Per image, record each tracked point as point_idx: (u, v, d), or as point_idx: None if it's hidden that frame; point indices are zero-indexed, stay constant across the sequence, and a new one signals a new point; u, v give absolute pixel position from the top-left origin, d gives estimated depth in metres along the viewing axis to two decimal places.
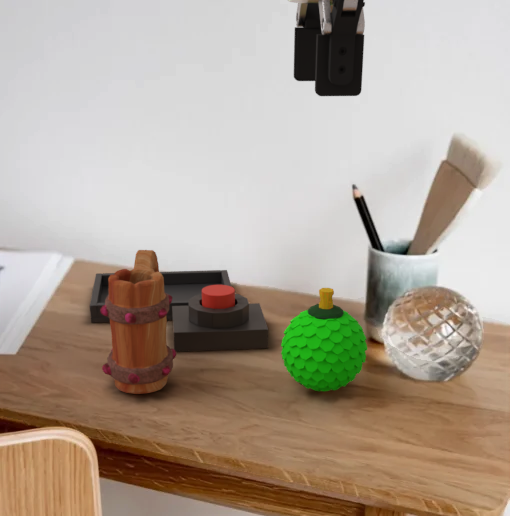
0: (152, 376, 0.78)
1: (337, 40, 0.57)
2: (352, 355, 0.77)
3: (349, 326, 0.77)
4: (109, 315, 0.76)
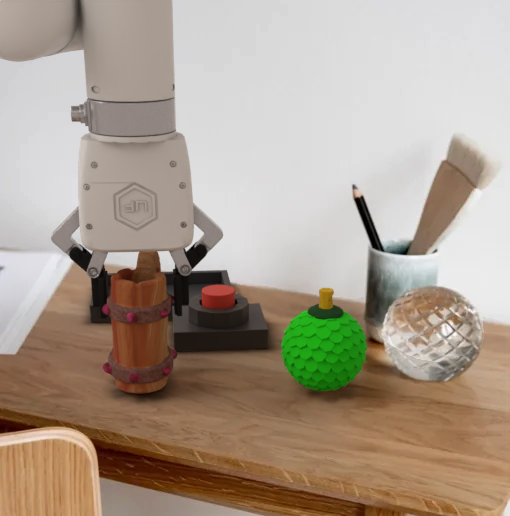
0: (152, 376, 0.78)
1: None
2: (352, 355, 0.77)
3: (349, 326, 0.77)
4: (111, 314, 0.76)
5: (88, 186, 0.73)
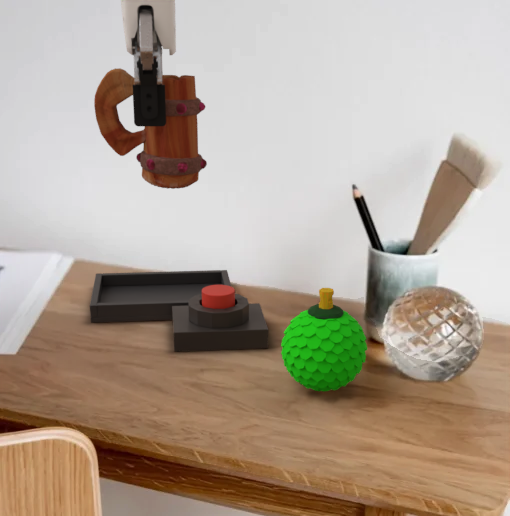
0: None
1: None
2: (352, 355, 0.77)
3: (349, 326, 0.77)
4: (187, 111, 0.86)
5: None
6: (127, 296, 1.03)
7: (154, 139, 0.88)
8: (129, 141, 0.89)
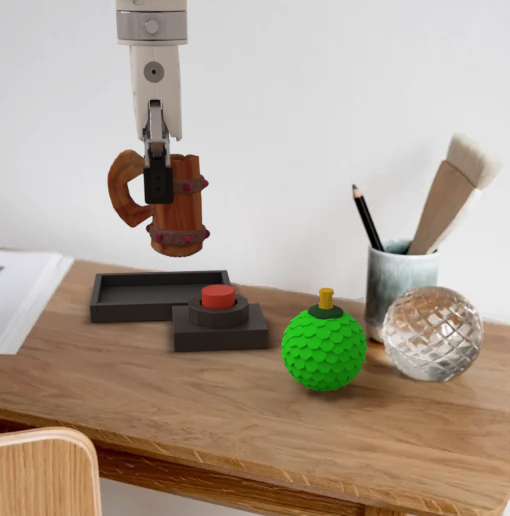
0: None
1: None
2: (352, 355, 0.77)
3: (349, 326, 0.77)
4: (192, 189, 0.95)
5: (178, 84, 0.89)
6: (127, 296, 1.03)
7: (162, 214, 0.96)
8: (139, 214, 0.98)
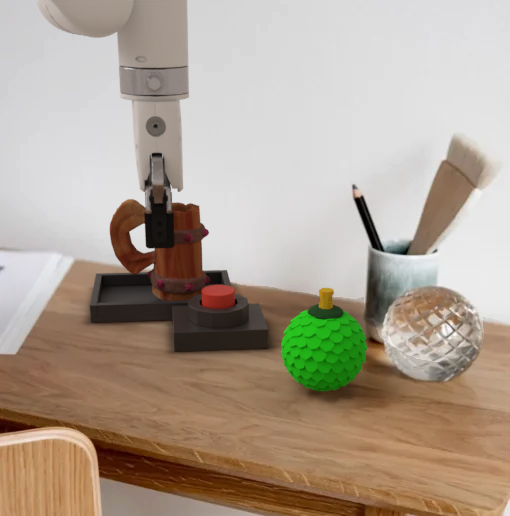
0: None
1: None
2: (352, 355, 0.77)
3: (349, 326, 0.77)
4: (193, 239, 0.97)
5: (179, 138, 0.91)
6: (127, 296, 1.03)
7: (163, 262, 0.98)
8: (141, 262, 1.00)
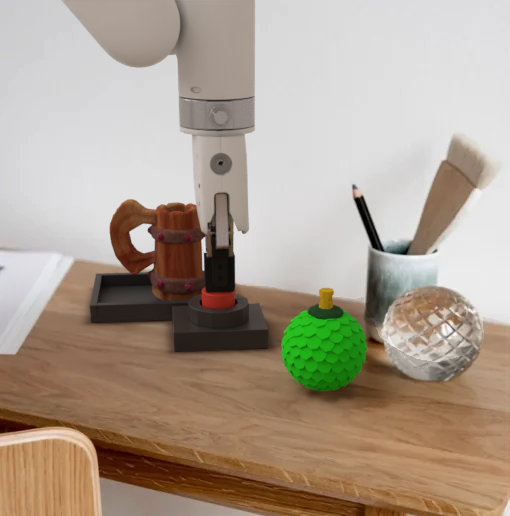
0: None
1: None
2: (352, 355, 0.77)
3: (349, 326, 0.77)
4: (193, 239, 0.97)
5: (246, 175, 0.82)
6: (127, 296, 1.03)
7: (163, 262, 0.98)
8: (141, 262, 1.00)
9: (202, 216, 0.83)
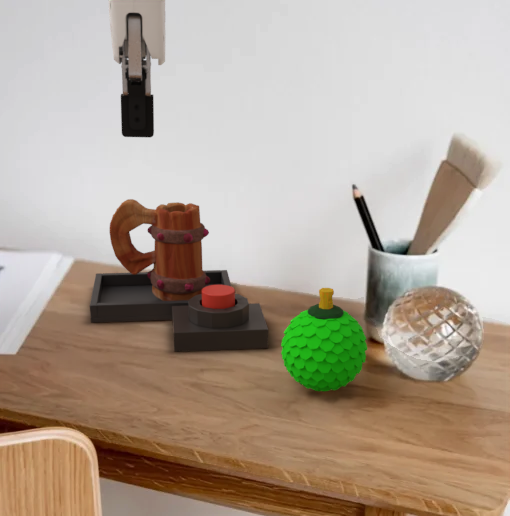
0: None
1: None
2: (352, 355, 0.77)
3: (349, 326, 0.77)
4: (193, 239, 0.97)
5: None
6: (127, 296, 1.03)
7: (163, 262, 0.98)
8: (141, 262, 1.00)
9: (113, 39, 0.78)
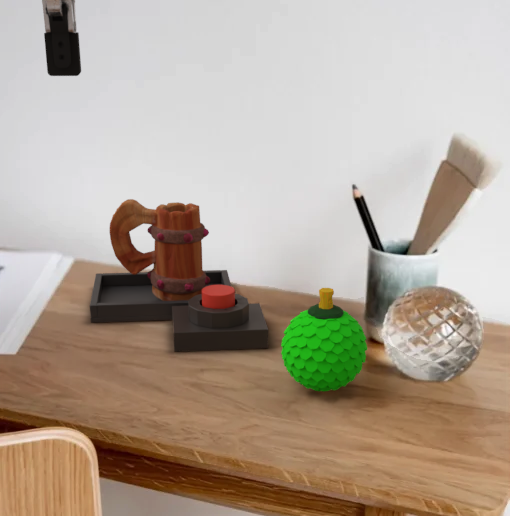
0: None
1: None
2: (352, 355, 0.77)
3: (349, 326, 0.77)
4: (193, 239, 0.97)
5: None
6: (127, 296, 1.03)
7: (163, 262, 0.98)
8: (141, 262, 1.00)
9: None
